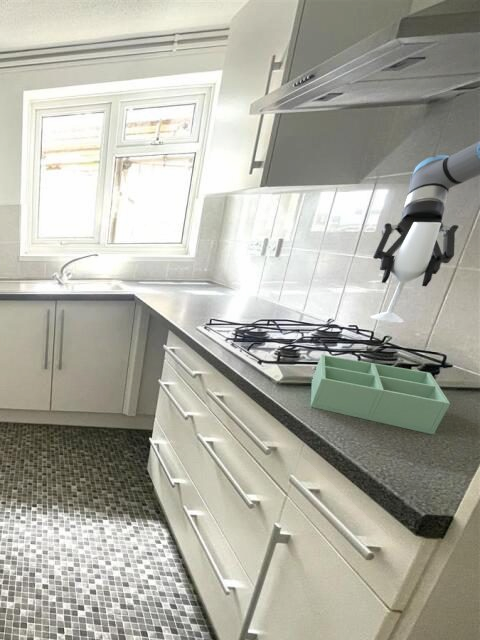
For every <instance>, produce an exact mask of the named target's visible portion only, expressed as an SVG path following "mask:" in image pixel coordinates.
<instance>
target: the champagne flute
mask: <svg viewBox="0 0 480 640" xmlns="http://www.w3.org/2000/svg"><path fill="white" fill-rule="evenodd" d="M440 226H441V223H436V222H414V223H413V225H412V227H411V229H410V230H409V232H408V234H407V236H406V238H405V240H404V242H403V244H402V245H401V246H400V247H399V248H398V250H397V253H396V255H395V257H394V261H393V265H392V268H391V272H390V275H392V277H393V278H394V279H395V280H396V281H397V282H398V284H397V286H396V287H395V291H394V293H393V296H392V298H391V300H390V303H389V305H388V306H387V307H388V308H387V309H386V311H383V312H380V313H377V314H374V315H370V317H369V318H371V319H373V320H377V321H382V322H388V323H404V322H405V320H404V319H402V318H401V317H400V316H398V315H397V314H396V313H394V311H395V308H396V306H397V303H398V301H399V299H400V296H401V294H402V291H403V290H404V287H405V284H406V283H407V282H408V283H409V282H411V281H413V280H415V279H418V278H419V277H421V276H423V275H425V272H426V271H427V268H428V265H429V261H430V258H431V255H432V252H433V248H434V245H435V242H436V240H438V239H437V238H438V236H439V233H440V231H439V229H440Z"/></svg>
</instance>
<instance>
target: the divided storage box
mask: <svg viewBox="0 0 480 640" xmlns="http://www.w3.org/2000/svg"><path fill="white" fill-rule="evenodd" d="M312 378H313V379H312ZM312 378H311V388H310V389H311V391H310V408H313V409H318V410H322V411H327V412H332V413H336V414H341V415H345V416H349V417H354V418H357V419H362V420H367V421H371V422H375V423H381V424H384V425H389V426H394V427H398V428H402V429H407V430H409V431H410V430H411V431H416V432H420V433H424V434H428V435H432V436H434V435H435V433H436V431H437V429H438V427H439V425H440V423H441V422H442V420H443V418H444V416H445V414H446V413H447V410H448V409H449V407H450V405H451V402H450V401H449V399H448V398H447V396H446V395H445V393H444V392H443V390H442V388H441V387H440V386H439V384H438V382H437V380H436V379H435V377H434V376H433V374H432V373H431V372H428V371H422V370H416V369H409V368H403V367H397V366H393V365H386V364H381V363H380V364H379V363H375V362H368V361H363V360H356V359H350V358H345V357H338V356H332V355H327V354H320V357H319V359H318V362H317V365H316V367H315V370H314V373H313V375H312Z"/></svg>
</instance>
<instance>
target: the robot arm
mask: <svg viewBox="0 0 480 640" xmlns="http://www.w3.org/2000/svg"><path fill="white" fill-rule="evenodd" d="M479 176H480V140H479V141H477V142H475V143H473V144H471V145H470V146H468V147H465V148H463V149H461V150H459V151H458V152H456V153H453V154H451V155H444V154H443V155H442V154H440V155H436V156H432V157H427V158H426V159H424V160H422V161H421V162H419V163H418V164H417V165H416V167H414V170H413V173H412V175H411V177H410V179H409V187H408V192H407V195H406V199H405V203H404V205H403V211H402V213H401V217H400V221H399V222H398V223H397V224H391V223H389V222H387V223H385V224H384V226H383V228H382V230H381V239H380V240H379V243H378V245H377V248H376V250H375V251H374V254H373V257H372V258H373V259H374V260H378V259H379V260H380V264H379V265H380V266H379V270H380V271H384V272H383V276H382V279H381V283H382V284H386V283H387V282H388V280H389V278H390V276H391V268H392V265H393V261H394V259H395V257H396V255H394V254H395V253H396V252H398V251H399V249H400V247H401V246H402V244H403V242H404V240H405V238H406V236H407V234H408V232H409V230H410V229H411V227H412V225H413V223H414V222H436V223H441V226H440V229H439V233H441V236H442V237H443V239H442V249H441V247H440V244H439V242H438V239H436V242H435V245H434V248H433V252H432V255H431V258H430V261H429V265H428V268H427V271H426V272H425V273H424V274H423V279H422V285H421V286H422V287H428V286H429V283H430V282H431V281H432V278H433V275H436V274H437V273H438V272H439V271H440V269H441V264H449V263H450V262H451V260H452V259H453V258H454V256H455V244H456V243H455V239H456V237H455V236H456V232H457V230H458V229H459V225H458V224H454V225H451V226H447V225H444V223H443V217H444V212H445V208H446V204H447V199H448V195H449V192H450V189H451V188H453V187H455V186H458V185H460V184H462V183H465V182H467V181H470V180H472V179H475V178H477V177H479ZM395 231H396V232H397V233H398V234H399V235H400V236H399V237H398V238H397V239H396V240H395V242H393V243H392V245H391V246H390V247H389V248H388V249H387V251H384V249H385V247H386V245H387V242H388V241H389V238H390V235H392V234H394V232H395Z"/></svg>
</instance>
